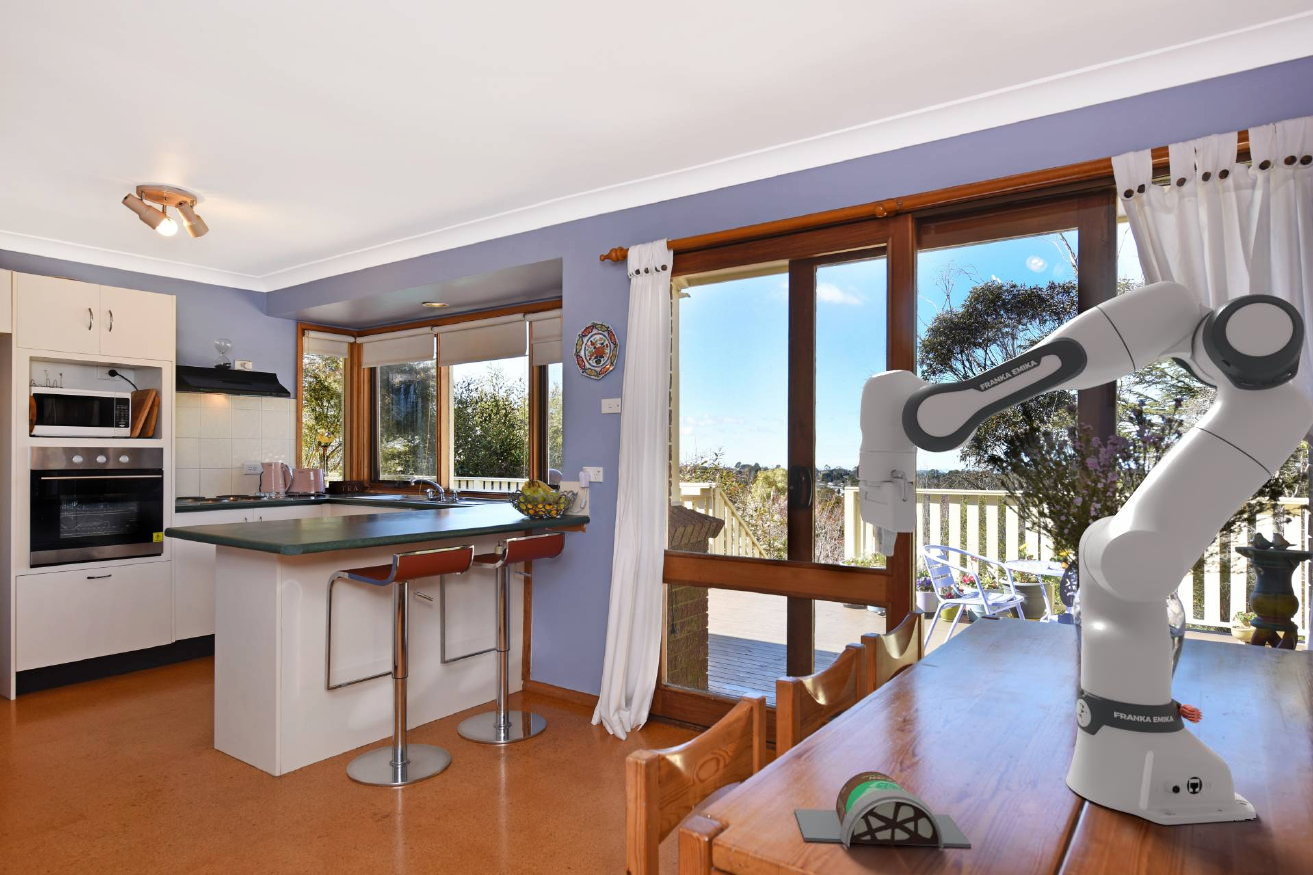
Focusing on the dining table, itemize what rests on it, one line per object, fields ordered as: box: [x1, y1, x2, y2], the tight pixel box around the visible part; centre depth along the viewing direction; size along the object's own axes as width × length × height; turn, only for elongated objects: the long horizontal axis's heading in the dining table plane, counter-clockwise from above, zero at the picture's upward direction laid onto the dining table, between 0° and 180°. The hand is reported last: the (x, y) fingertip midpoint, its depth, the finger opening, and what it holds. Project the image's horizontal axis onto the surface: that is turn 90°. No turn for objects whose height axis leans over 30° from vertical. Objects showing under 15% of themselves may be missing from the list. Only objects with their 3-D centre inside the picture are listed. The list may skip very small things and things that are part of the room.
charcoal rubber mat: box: [793, 808, 972, 848], centre depth 96 cm, size 20×8×1 cm, turn 89°
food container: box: [835, 770, 944, 850], centre depth 96 cm, size 12×6×10 cm
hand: (885, 555), depth 125 cm, fingers closed
